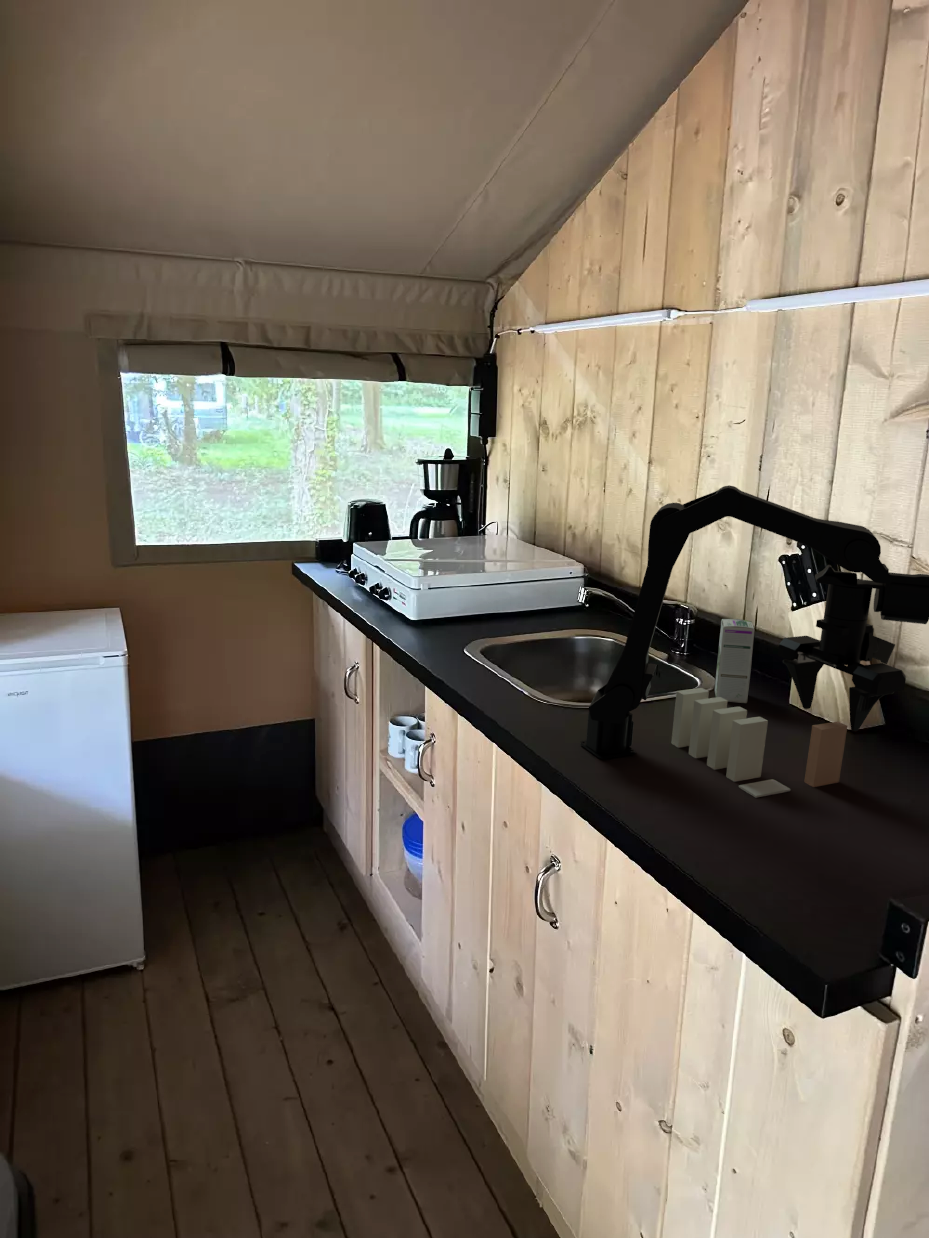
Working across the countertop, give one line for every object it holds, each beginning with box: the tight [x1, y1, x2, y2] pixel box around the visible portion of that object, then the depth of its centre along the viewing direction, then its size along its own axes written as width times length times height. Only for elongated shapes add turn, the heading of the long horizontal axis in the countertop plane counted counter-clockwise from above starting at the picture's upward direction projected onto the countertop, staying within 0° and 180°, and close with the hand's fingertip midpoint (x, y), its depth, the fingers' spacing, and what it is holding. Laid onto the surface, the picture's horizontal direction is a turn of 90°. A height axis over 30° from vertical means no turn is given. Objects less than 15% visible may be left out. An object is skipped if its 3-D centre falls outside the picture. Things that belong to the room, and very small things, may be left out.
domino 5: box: [803, 721, 848, 788], centre depth 134 cm, size 2×5×9 cm, turn 114°
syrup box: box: [714, 618, 756, 704], centre depth 169 cm, size 6×6×14 cm
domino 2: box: [688, 696, 728, 759], centre depth 142 cm, size 2×5×9 cm, turn 114°
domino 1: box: [671, 687, 710, 749], centre depth 146 cm, size 2×5×9 cm, turn 114°
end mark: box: [738, 778, 791, 798], centre depth 132 cm, size 6×4×1 cm, turn 114°
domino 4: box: [725, 716, 769, 783], centre depth 135 cm, size 2×5×9 cm, turn 114°
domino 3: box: [706, 706, 748, 771], centre depth 138 cm, size 2×5×9 cm, turn 114°
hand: (830, 719), depth 132 cm, fingers open, 9 cm apart
